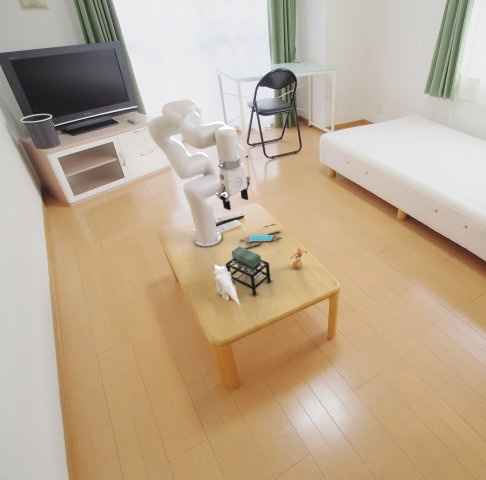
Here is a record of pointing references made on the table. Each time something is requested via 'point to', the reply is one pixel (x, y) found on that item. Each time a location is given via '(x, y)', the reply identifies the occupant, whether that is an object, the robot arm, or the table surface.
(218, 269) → the dinosaur statue
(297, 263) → the figurine
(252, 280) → the rack
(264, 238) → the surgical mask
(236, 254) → the teal sanding sponge
